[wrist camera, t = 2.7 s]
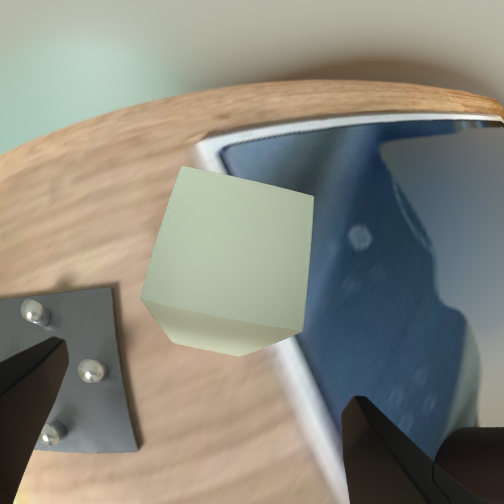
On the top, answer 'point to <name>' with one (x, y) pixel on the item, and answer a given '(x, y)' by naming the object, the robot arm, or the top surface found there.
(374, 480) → the robot arm
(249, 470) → the top surface
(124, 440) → the grey peg board
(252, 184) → the sage block
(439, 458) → the bottle
